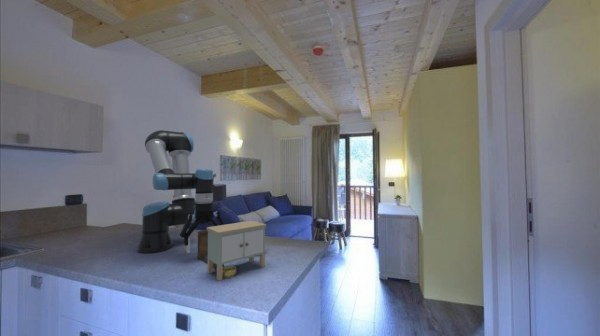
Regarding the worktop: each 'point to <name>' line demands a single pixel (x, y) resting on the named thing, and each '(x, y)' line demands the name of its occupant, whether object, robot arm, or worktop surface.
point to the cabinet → (235, 244)
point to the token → (228, 271)
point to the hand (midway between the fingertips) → (203, 249)
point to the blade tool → (204, 247)
